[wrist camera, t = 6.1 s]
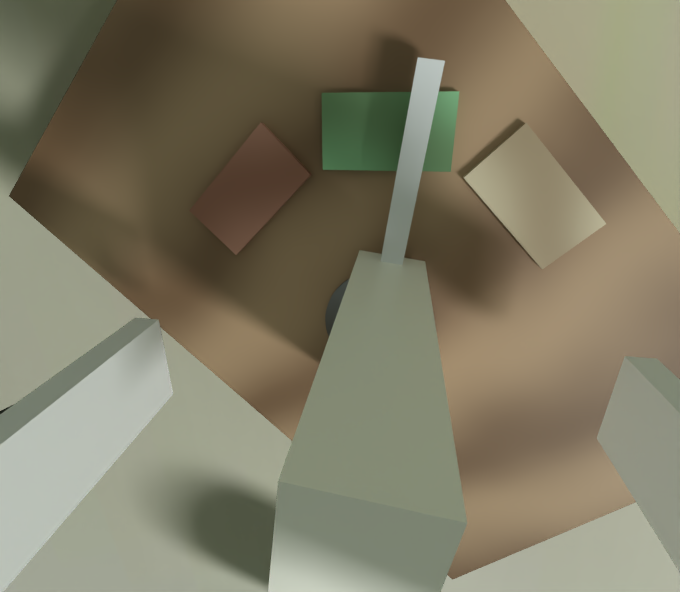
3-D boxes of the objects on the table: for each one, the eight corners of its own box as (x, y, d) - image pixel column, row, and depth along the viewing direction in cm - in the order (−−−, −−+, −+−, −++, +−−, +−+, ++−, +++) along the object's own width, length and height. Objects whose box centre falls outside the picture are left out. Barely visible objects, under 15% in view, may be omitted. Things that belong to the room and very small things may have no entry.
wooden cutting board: (60, 186, 17) (3, 196, 15) (305, -213, 11) (278, -309, 9) (447, 532, 22) (453, 584, 20) (762, 381, 16) (829, 428, 14)
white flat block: (338, 383, 16) (257, 706, 7) (390, 58, 11) (340, -193, 2) (394, 394, 15) (382, 739, 7) (469, 68, 11) (735, -162, 2)
